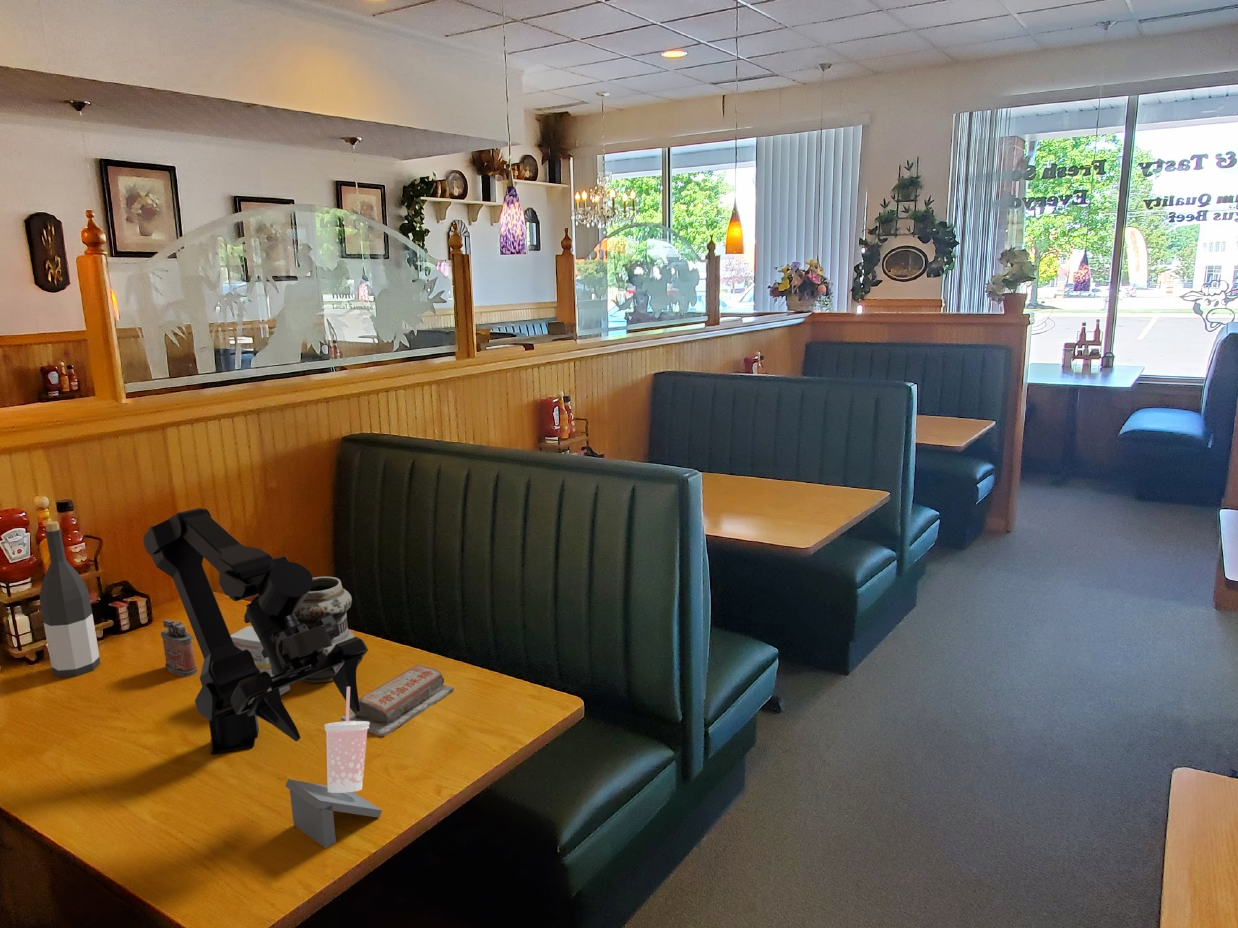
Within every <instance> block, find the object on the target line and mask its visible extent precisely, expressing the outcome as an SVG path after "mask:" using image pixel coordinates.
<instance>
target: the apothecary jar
mask: <svg viewBox="0 0 1238 928" xmlns="http://www.w3.org/2000/svg"><path fill="white" fill-rule="evenodd" d="M312 578H313V584H312V587H311V589H310V591H309V592H308V594H307V596H306V597H305V599H304V600H303V602H302V604H301V605H300V607H299V609H298V610H297V611H296V612H295V613H294V614H295V616H296V618H297V620H298V622H299V623H300V624H302V623H305V624H306V625H307V627H308V629H309V630H310V629H313V628H316V621H317V620H319V619H322V618H324V617H327V616H330V615H332V617H333V618H334V620H335V621H336V623H337V625H338V628H339V631H340V635H339V636H337V637H334V638H332V639H330V640H331V643H332V646H330V647H327V648H323V650H324V651H323V652H322V654H320V655H318V659H319V658H322V657H325V656H327V655H329V653H330V652H331V650H332V649H333V648H334V646H335V645H336V644H338V643H340V642H343V641H346V640H348V639H351V638H354V637H356V636H355V634H354V633H353V632H352V630H350V629H349V626H348V618H347V617H348V616H347V611H348V610H349V609H350V608H351V607H352V603H353V598H352V595H351V594H350V593H349V591H347V590H346V589H345V588H343V585H342V581H341V579H339V578H338V577H333V576H317V577H312ZM311 669H313V668H311ZM311 669H309V670H311ZM335 675H336V674H334V673H332V672H330V671H329V669H328V670H325V671H323V672H320V673H318V674H315V675H313V676H310V677H308V678H305V679H303V680H301V681H302V682H306V683H309V684H323V683H329V682H334V681H333V678H334V676H335Z"/></svg>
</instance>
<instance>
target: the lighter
mask: <svg viewBox="0 0 1238 928" xmlns="http://www.w3.org/2000/svg"><path fill="white" fill-rule="evenodd" d="M162 625H163V627H164V628H166V629H164V630H162V631H161V632H160V637H161V638H162V644H163V651H164V656H165V657H164V658H165V664H164V665H165V669H166V670H167V671H168V672H170V673H171V674H175V675H178V676H182V677H190V676H193V675H196V674H197V673H198V667H197V666H196V660H195V654H194V647H193V640H194V638H193V634H191V633H190V632H188V631H187V628H186V624H183V623H182V622H181V621H180V620H177V621H174V620H171V619H169V618H168V619H164V620H163V624H162Z"/></svg>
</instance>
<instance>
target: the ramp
mask: <svg viewBox="0 0 1238 928" xmlns="http://www.w3.org/2000/svg"><path fill="white" fill-rule="evenodd" d="M284 787H286V788H287V789H288V790H289V796H290V797H289V798H290V803H291V813H292V814H291V815H292V821H293V826H294V827H295V828H297V829H298V830H300V831H301V832H303V834H305V835H307V836H308V837H310V838H311V839H312V840H313V841H315V842H317V844H319V845H320V846H322V847H323V848H324V849H327V848H328V847H330V846H332V845H334V844H336V843H337V839H336V837H337V836H336V829H335V827H336V826H335V821H334V820H335V818H334V812H340V813H347V814H354V815H359V816H367V817H373V818H380V817H381V815H382V812H383V810H382V809H381V808H380V807H378V806H377V805H375V804H373V803H371V802H370V801H368V800H367V799H365V798H363V796H360V795H359V794H357V793H356V792H355V791H354V792H346V793H331V792H328V785H325V784H319V783H314V782H313V783H312V782H306V781H301V780H296V779H290V778H288V779H287V781H286V783H285V785H284Z"/></svg>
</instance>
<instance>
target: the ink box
mask: <svg viewBox="0 0 1238 928" xmlns="http://www.w3.org/2000/svg"><path fill="white" fill-rule="evenodd" d="M230 636H231V638H232V641H233V643H234V645H235V646H237V647H238V648H239V649H241V650H242V651H243V650H246V649H247V650H248V651H249V652H251V654H252V657H253V660H254V663H255V665H256V667H257V668H258V669H259V670H260V672H264V671H265V672H267V673H269V674H270V676H271V677H273V676H275V674H276V671H275V669H274V667H273V666H272V664H271V662H270V660H269V658H268V657H267V658H264V657H263V655H262V653H261V652H262V651H263V649H264V648H263V646H262V644H261V642H260V640H259V638H258V636H257V634H256V632H255V630H254V629H253V627H252V625H250V626H249V625H248V626H245V627H244V628H242V629H240V630H238V631H236V632H234V633H232V634H230ZM290 686H291V684H290V685H288V686H285V687H283V688H280V689H279V691H280V696H282V695H284V694H285V693H287V692H288V691H290V690H291V687H290Z"/></svg>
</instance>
